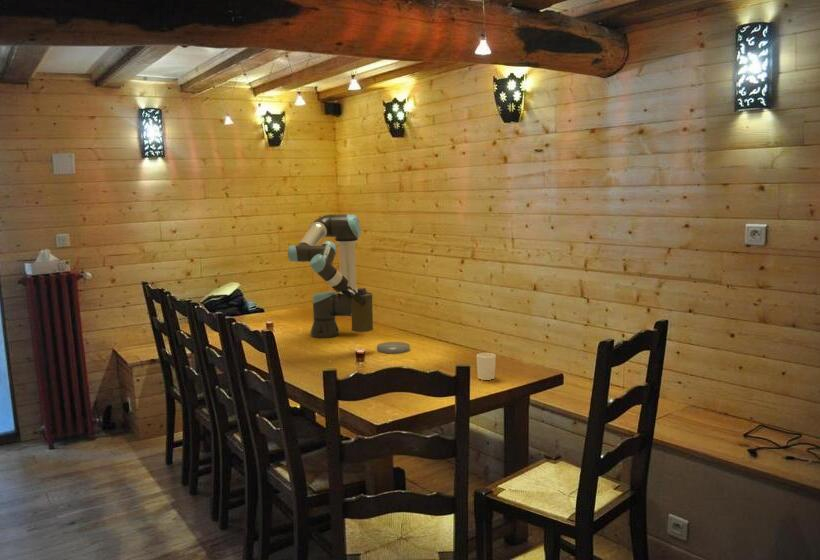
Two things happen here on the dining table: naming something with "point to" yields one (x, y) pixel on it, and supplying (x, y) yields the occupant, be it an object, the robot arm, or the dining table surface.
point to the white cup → (486, 365)
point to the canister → (362, 312)
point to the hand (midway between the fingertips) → (369, 311)
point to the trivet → (393, 347)
